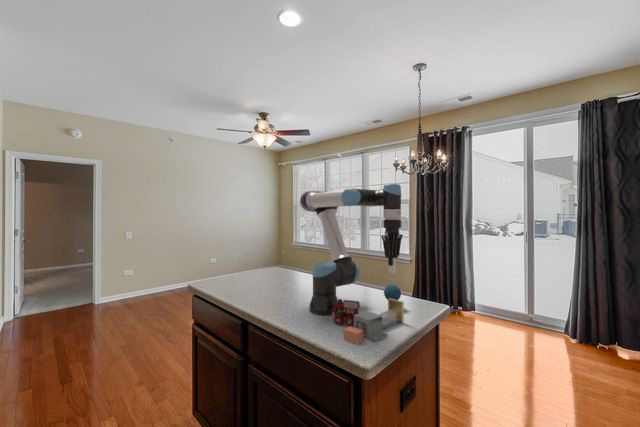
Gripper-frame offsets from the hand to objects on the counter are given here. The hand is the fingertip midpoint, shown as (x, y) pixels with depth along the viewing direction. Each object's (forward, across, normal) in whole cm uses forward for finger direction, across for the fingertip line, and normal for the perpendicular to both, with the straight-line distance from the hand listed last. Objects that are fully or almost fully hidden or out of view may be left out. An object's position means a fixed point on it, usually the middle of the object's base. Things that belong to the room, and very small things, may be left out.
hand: (392, 272), depth 125 cm
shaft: (+22, -9, 0) cm, 23 cm away
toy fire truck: (+22, -16, +13) cm, 30 cm away
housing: (+22, -17, 0) cm, 28 cm away
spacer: (+20, -24, 0) cm, 31 cm away
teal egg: (+22, +16, +11) cm, 29 cm away
